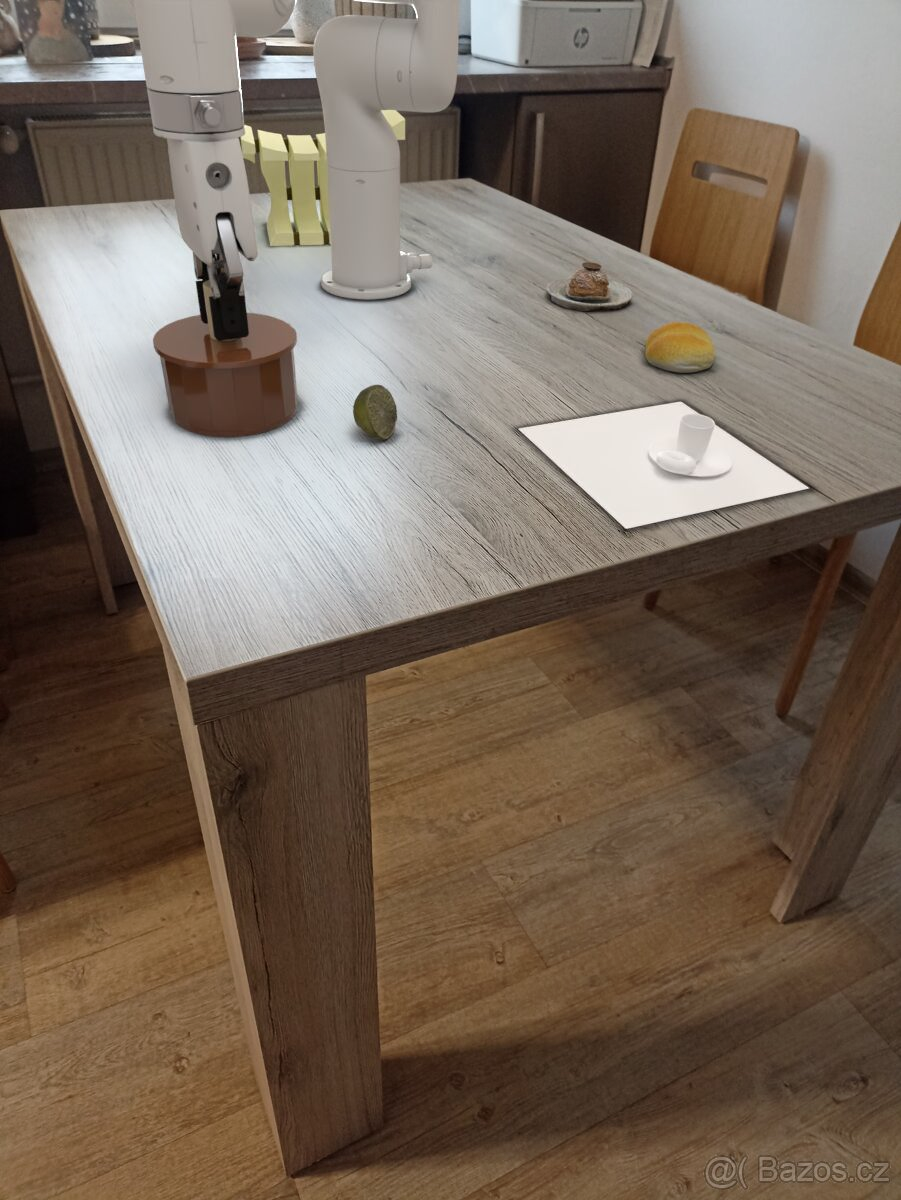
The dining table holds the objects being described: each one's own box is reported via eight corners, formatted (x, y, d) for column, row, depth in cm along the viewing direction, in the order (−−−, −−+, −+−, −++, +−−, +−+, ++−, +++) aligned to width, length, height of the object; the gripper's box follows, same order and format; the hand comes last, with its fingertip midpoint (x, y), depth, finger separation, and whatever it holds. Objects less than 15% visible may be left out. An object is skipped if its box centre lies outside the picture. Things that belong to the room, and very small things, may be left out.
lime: (395, 423, 86) (395, 376, 83) (401, 445, 82) (401, 396, 79) (351, 425, 86) (349, 377, 83) (355, 447, 82) (353, 398, 79)
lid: (272, 316, 91) (267, 256, 87) (317, 362, 81) (313, 296, 78) (141, 333, 86) (130, 270, 82) (173, 384, 76) (161, 315, 72)
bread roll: (644, 371, 99) (650, 338, 97) (644, 344, 106) (649, 312, 104) (716, 379, 98) (724, 345, 96) (711, 350, 105) (718, 318, 103)
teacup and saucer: (672, 488, 77) (681, 448, 75) (624, 449, 83) (631, 411, 81) (749, 472, 80) (760, 433, 78) (698, 436, 86) (706, 398, 84)
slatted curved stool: (389, 218, 151) (388, 103, 140) (404, 243, 139) (405, 118, 128) (215, 221, 145) (200, 101, 135) (215, 247, 133) (199, 117, 122)
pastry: (550, 281, 125) (554, 249, 122) (633, 289, 123) (638, 257, 121) (541, 307, 116) (544, 273, 113) (630, 317, 114) (635, 281, 111)
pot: (275, 377, 94) (269, 313, 90) (314, 423, 86) (309, 355, 81) (159, 395, 89) (146, 328, 85) (188, 446, 81) (176, 375, 76)
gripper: (272, 128, 67) (290, 354, 78) (215, 98, 79) (238, 298, 90) (175, 133, 64) (208, 366, 75) (131, 100, 76) (166, 307, 87)
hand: (224, 327), depth 82 cm, fingers open, 4 cm apart
